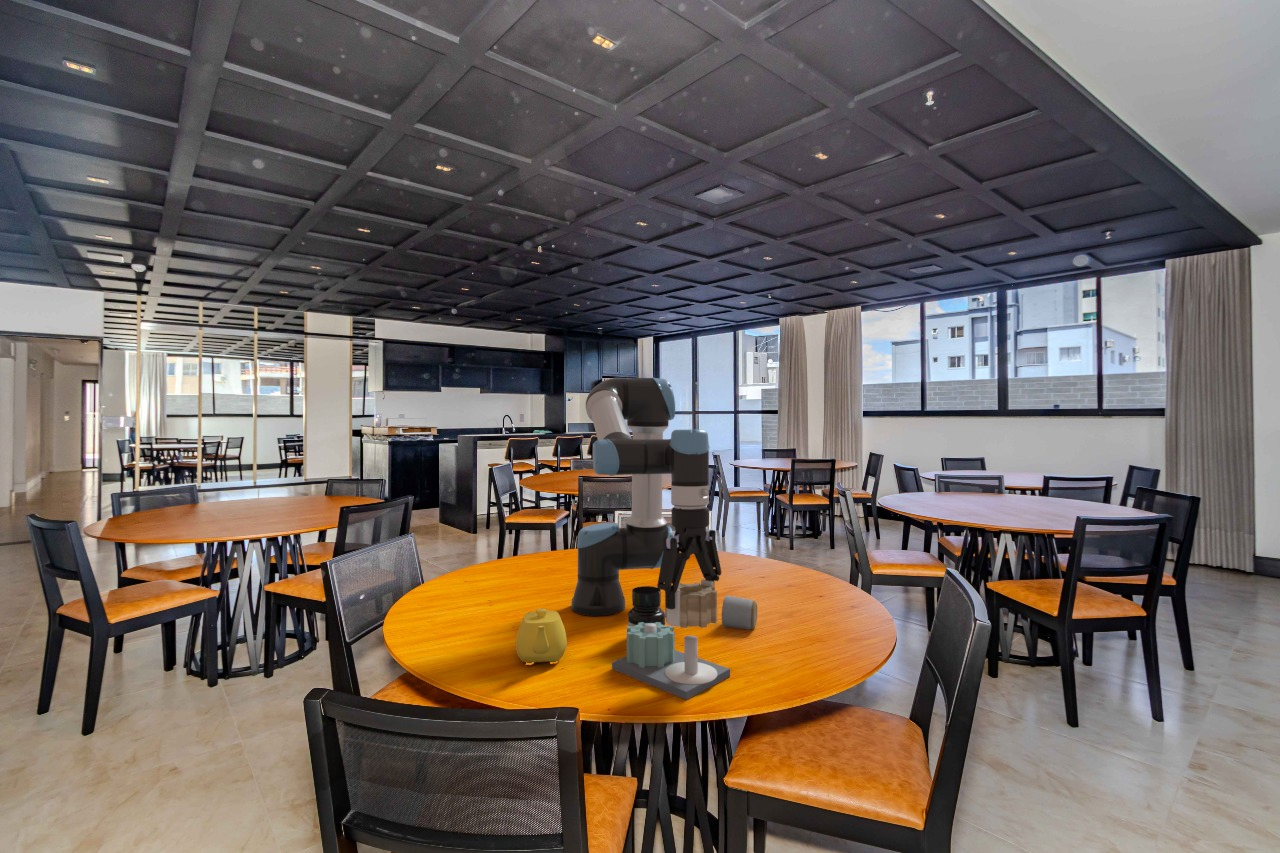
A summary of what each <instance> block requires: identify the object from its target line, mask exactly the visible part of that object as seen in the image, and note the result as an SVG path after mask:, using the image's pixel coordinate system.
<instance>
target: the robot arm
mask: <svg viewBox="0 0 1280 853" xmlns="http://www.w3.org/2000/svg"><path fill="white" fill-rule="evenodd" d="M585 410H586V414H587V416H588V418H589V420H590V421H592V422H593V426H594V429H595V434H596V439H597V440H595V441H594V442H593V445H592V467H593V471H594V473H595V474H596V475H600V476H601V475H603V476H604V475H605V476H614V477H615V476H624V475H626V476H627V475H631V482H632V483H631V514H630V517H628V518H627V520H626V522H625V523H626V524H625V525H626V526H625V527H620V525H619V524H618V523H617V522H600V523H594V524H591V525H587V526H584V527H582V528H581V529H580V530H579V531H578V532H577V533H578V534H577V544H576V548H577V582H576V585H575V588H574V593H573V597H572V599H571V607H570V608H571V610H572V612H574V613H576V614H578V615H581V616H588V617H601V616H603V617H604V616H610V615H615V614H618V613H621V612H622V611H624V610H625V609H626V597H625V595H624V592H623V588H622V585H621V582H620V571H622V570H623V571H624V570H643V569H644V570H645V569H650V570H653V569H657V568H658V569H659V573H658V580H657V585H656V587H657V588H658V589H660V590H661V591H664V595H665V594H666V608H667V622H666V624H667V625H668V626H672V627H677V628H680V592H678V591H677V588H678V585H679V583H681V579H682V575H683V572H684V570H685V566H686V564H687V561H688V560H689V559H690V558H691V556H692V555H693V554H694V557H695V560H696V562H697V564H698V567H699V569H700V571H701V574H702V577H703V579H700V585H705V586H713V587H715V582H719V581H720V576H721V575H722V567H721V562H720V558H719V552H718V548H717V543H716V542H717V541H716V535H717V534H716V532H717V531H716V530H714V529H708V528H707V527H709V525H710V509H709V507H707V506H708V505H709V504H710V500H709V499H710V494H709V493H710V491H709V490H710V488H709V485H710V483H709V482H710V481H709V480H710V462H709V459H710V458H709V456H710V455H709V454H710V443H709V433H708V432H707V430H705V429H673V431H671V433H670V434H671V435H670V438H669V439H667V438H664V432H665V431H666V429H668V428H669V421H672V420H674V418H675V417H676V400H675V394H674V391H673V388H672V385H671V383H670V382H669V381H668V380H667V379H665V378H657V377H613V378H609V379H606V380H603V381H601V382H600V383H598V384H597V385H596V386H594V387H593V388H592V389H591V390H590V391H589V394H588V395H587V397H586V400H585ZM630 431H631V433H632V436H631V433H630ZM663 475H670V477H671V485H670V487H671V488H670V489H671V490H670V492H671V494H670V502H671V505H672V506H673V507H672V508H671V525H672V526H673V527H674V529H675V530H674V533H673V529H672V527H671V526H670V525H669V526H668V522H667V519H666V518H665V517H664V516H663V512H662V511H663Z"/></svg>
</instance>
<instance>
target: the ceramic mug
mask: <svg viewBox="0 0 1280 853" xmlns="http://www.w3.org/2000/svg"><path fill="white" fill-rule="evenodd" d="M723 598H724V599H723V601H722V605H721V606H722V607H721V625H722V626H723V627H725V628H733V629H743V630H753V629H755V628H756V626H757V620H758V604H757V602H756V601H755V600H752V599H749V598H743V597H738V596H733V595H725V596H724V597H723Z"/></svg>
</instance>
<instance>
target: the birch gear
mask: <svg viewBox="0 0 1280 853" xmlns="http://www.w3.org/2000/svg"><path fill="white" fill-rule="evenodd" d="M677 591H678V592H680V626H679V628H682V629H687V628H688V627H691V628H692V627H699V628H702V629H703V628H707V627H708V625H710V624H717V623H718V591H717V590H716V586H714V587H713V586H705V585H701V582H694V583H682V582H679V585H678V588H677ZM664 613H665V623H667V608H666V594H665V593H664Z"/></svg>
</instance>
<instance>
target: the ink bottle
mask: <svg viewBox="0 0 1280 853" xmlns="http://www.w3.org/2000/svg"><path fill="white" fill-rule="evenodd" d="M661 591H662V590H661V589H658V588H657V586H656V587H655V586H648V585H647V586H646V585H644V586H643V585H642V586H637V587H634V588H632V592H631V595H632V596H631V600H632V608H631V609H630V610H629V611H628V614H627V627H628V626H632V627H633V626H636V625H638V623H640V622H644V623H655V622H661V624H662V625H665V626H666V618H665V610H663V609H662V608H661V603H662V598H661V596H662V595H661V594H662V592H661Z"/></svg>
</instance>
